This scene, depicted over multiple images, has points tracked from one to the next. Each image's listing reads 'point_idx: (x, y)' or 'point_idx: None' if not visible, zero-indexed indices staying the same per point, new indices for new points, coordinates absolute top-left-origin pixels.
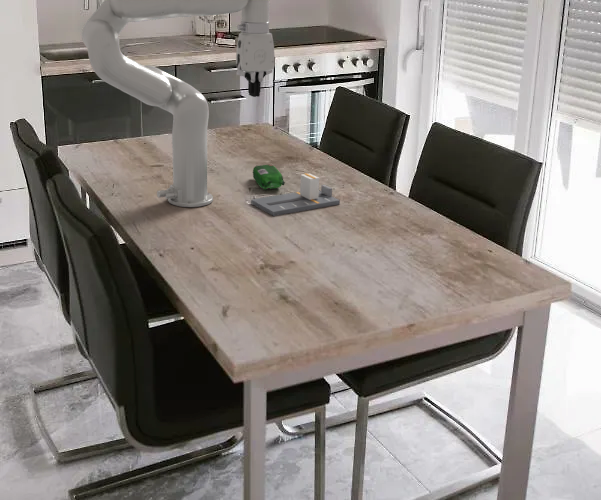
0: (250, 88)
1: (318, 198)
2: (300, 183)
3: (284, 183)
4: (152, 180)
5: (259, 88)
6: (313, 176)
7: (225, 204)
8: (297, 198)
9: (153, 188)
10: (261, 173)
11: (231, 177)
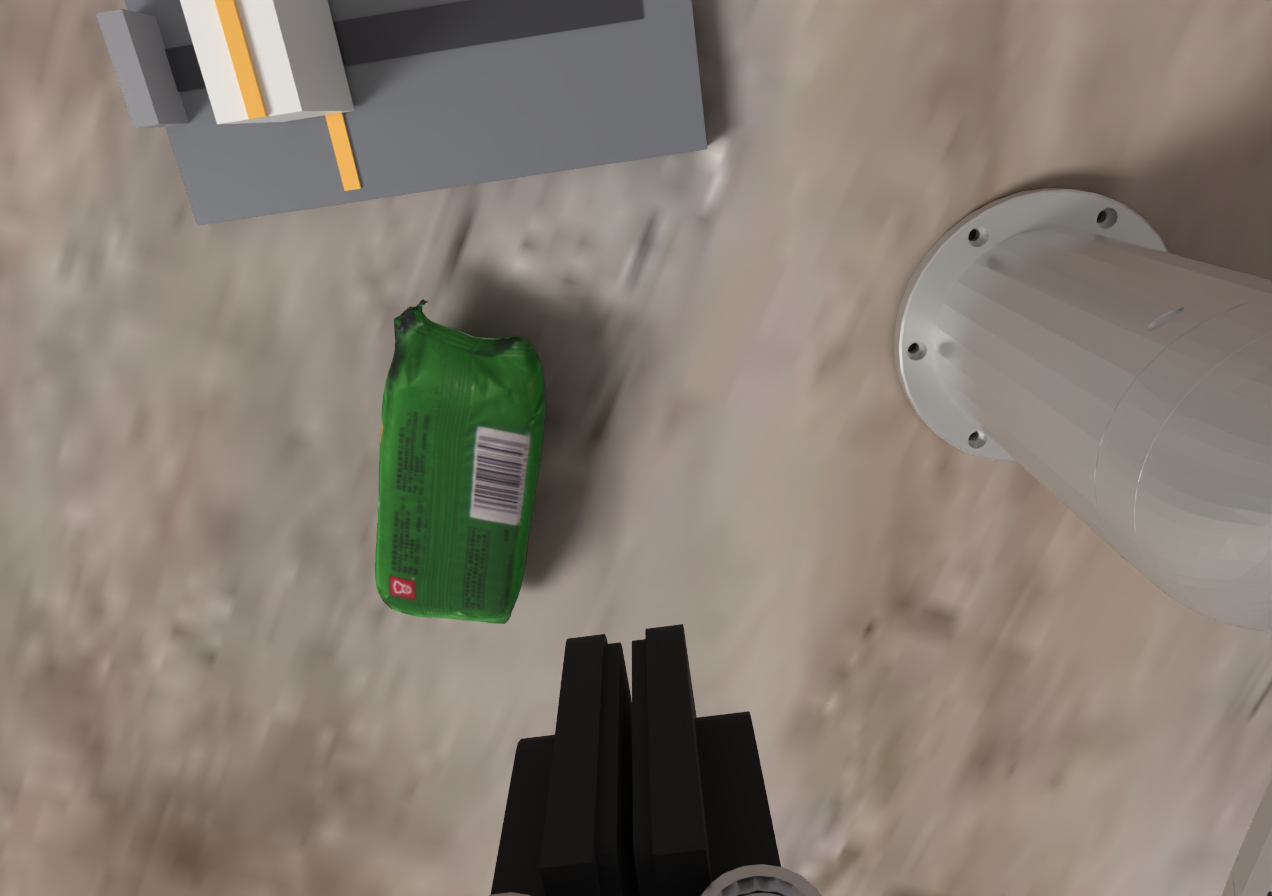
0: (764, 798)
1: None
2: (326, 111)
3: (400, 316)
4: (1043, 716)
5: (561, 743)
6: (208, 21)
7: (864, 189)
8: (395, 50)
9: (1105, 596)
10: (520, 448)
11: None
